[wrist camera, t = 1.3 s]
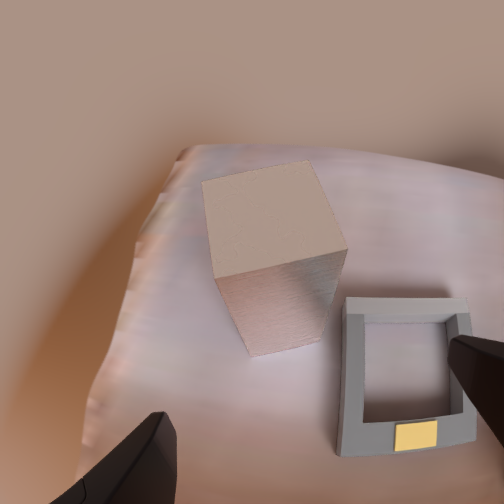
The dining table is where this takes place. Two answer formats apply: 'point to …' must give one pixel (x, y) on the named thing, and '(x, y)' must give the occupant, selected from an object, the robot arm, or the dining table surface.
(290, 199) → the rectangular block post
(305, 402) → the dining table surface
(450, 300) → the plate
